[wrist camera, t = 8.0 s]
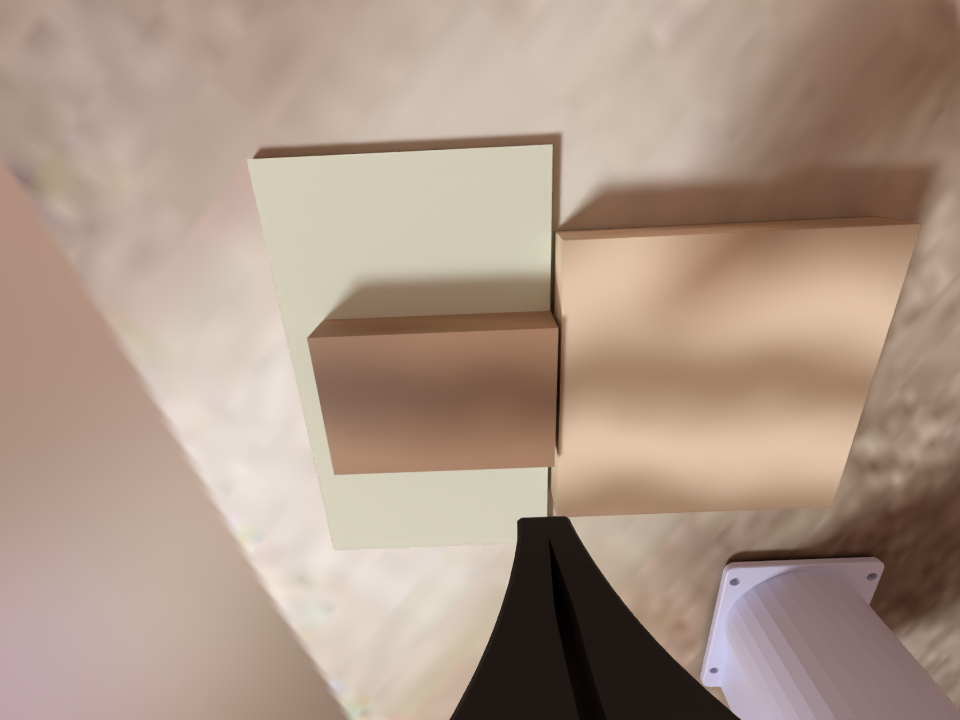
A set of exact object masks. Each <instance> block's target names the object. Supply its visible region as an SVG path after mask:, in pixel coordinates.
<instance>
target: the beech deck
mask: <svg viewBox="0 0 960 720" xmlns="http://www.w3.org/2000/svg"><path fill="white" fill-rule="evenodd" d="M921 226H922V224H919V223H913V222H907V221H901V220H895V219H889V218H883V217H877V216H874V217H853V218H831V219H810V220H789V221H767V222H746V223H725V224H703V225H682V226H661V227H639V228H618V229H597V230H575V231H555V263H554V319H555V322H556V324H557V326H558V362H557V398H556V434H555V467H551V483H550V488H551V493H552V498H553V502H554V507H555V511H556V516H566V517H583V516H608V515H633V514H658V513H684V512H709V511H734V510H760V509H785V508H810V507H832V504H833V501H834V498H835V495H836V492H837V489H838V486H839V482H840V479H841V476H842V473H843V470H844V467H845V464H846V461H847V457H848V454H849V451H850V448H851V445H852V442H853V439H854V436H855V432H856V429H857V426H858V423H859V420H860V417H861V414H862V410H863V407H864V404H865V401H866V398H867V395H868V392H869V389H870V385H871V382H872V379H873V376H874V373H875V370H876V367H877V364H878V360H879V357H880V354H881V351H882V348H883V345H884V342H885V338H886V335H887V332H888V329H889V326H890V323H891V320H892V317H893V313H894V310H895V307H896V304H897V301H898V298H899V295H900V292H901V288H902V285H903V282H904V279H905V276H906V273H907V270H908V267H909V263H910V260H911V257H912V254H913V251H914V248H915V245H916V241H917V238H918V235H919V232H920V229H921Z"/></svg>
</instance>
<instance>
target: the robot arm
mask: <svg viewBox="0 0 960 720" xmlns="http://www.w3.org/2000/svg"><path fill="white" fill-rule="evenodd" d="M883 570H884V564H883V563H882V562H881V561H880V560H879V559H878V558H876V557H856V558H830V559H804V560H778V561H751V562H732V563H729V564H727V565H726V566H725V568H724V570H723V574H722V579H721V584H720V588H719V593H718V597H717V602H716V606H715V611H714V616H713V620H712V625H711V629H710V634H709V638H708V643H707V648H706V652H705V657H704V661H703V666H702V671H701V675H700V678H701V680H702V683H703V684H704V685H705V686H709V687H715V686H720V687H721V689H722V691H723V693H724V695H725V698H726V700H727V702H728V704H729V706H730V709H731V711H732V712H731V711H730V710H729V709H728V708H727V707H726V706H724V705H723V704H722V703H721V702H720V701H719V700H718V699H716V698H715V697H714V696H713V695H712V694H711V693H709V692H708V691H707V690H706V689H705V688H704V687H703V686H702V685H701V684H700V683H699V682H698V681H697V680H696V679H694V678H693V677H692V676H691V675H690V674H689V673H688V672H687V671H686V670H685V669H684V668H683V667H682V666H681V665H680V664H679V663H678V662H676V661H675V660H674V659H673V658H672V657H671V656H670V655H669V653H668V652H667V651H666V650H665V649H664V648H663V647H662V646H661V645H660V644H659V643H658V642H657V641H656V640H655V639H654V638H653V636H652V635H651V634H650V633H649V632H648V631H647V630H646V629H645V628H644V626H643V625H642V624H641V623H640V622H639V621H638V619H637V618H636V617H635V616H634V615H633V614H632V612H631V611H630V610H629V609H628V607H627V606H626V605H625V604H624V602H623V601H622V600H621V598H620V597H619V596H618V595H617V593H616V592H615V591H614V589H613V588H612V587H611V585H610V584H609V583H608V581H607V580H606V578H605V577H604V575H603V574H602V572H601V571H600V570H599V568H598V567H597V565H596V564H595V562H594V561H593V559H592V558H591V556H590V555H589V553H588V551H587V550H586V548H585V547H584V545H583V543H582V542H581V540H580V538H579V537H578V535H577V533H576V531H575V529H574V527H573V526H572V524H571V522H570V519H568V518H567V517H566V516H554V517H523V518H520V519H519V520H518V521H517V546H516V552H515V558H514V562H513V567H512V571H511V576H510V580H509V584H508V587H507V590H506V594H505V597H504V600H503V603H502V607H501V610H500V613H499V616H498V618H497V621H496V624H495V627H494V629H493V632H492V634H491V637H490V639H489V642H488V644H487V646H486V649H485V651H484V653H483V656H482V658H481V660H480V662H479V665H478V667H477V669H476V671H475V673H474V675H473V677H472V679H471V681H470V683H469V685H468V687H467V689H466V691H465V692H464V694H463V696H462V698H461V700H460V702H459V704H458V706H457V708H456V709H455V711H454V713H453V715H452V716H451V718H450V720H960V710H959V709H958V708H957V707H956V705H955V704H954V703H953V702H952V701H951V700H950V698H949V697H948V696H947V695H946V694H945V693H944V691H943V690H942V689H941V688H940V687H939V686H938V684H937V683H936V682H935V681H934V680H933V679H932V678H931V676H930V675H929V674H928V673H927V672H926V671H925V669H924V668H923V667H922V666H921V665H920V664H919V662H918V661H917V660H916V659H915V658H914V657H913V655H912V654H911V653H910V652H909V651H908V650H907V649H906V647H905V646H904V645H903V644H902V643H901V642H900V640H899V639H898V638H897V637H896V636H895V635H894V633H893V632H892V631H891V630H890V629H889V628H888V626H887V625H886V624H885V623H884V622H883V621H882V620H881V618H880V617H879V616H878V615H877V614H876V613H875V611H874V610H873V609H872V608H871V607H870V606H869V605H870V602H871V600H872V597H873V595H874V592H875V590H876V587H877V585H878V582H879V580H880V577H881V575H882V572H883Z"/></svg>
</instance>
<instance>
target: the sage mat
mask: <svg viewBox="0 0 960 720" xmlns="http://www.w3.org/2000/svg"><path fill="white" fill-rule="evenodd" d="M552 153H553V144H549V145H529V146H509V147H488V148H468V149H447V150H427V151H407V152H386V153H366V154H346V155H325V156H305V157H285V158H264V159H247V163H248V168H249V172H250V177H251V181H252V186H253V190H254V195H255V199H256V204H257V208H258V213H259V217H260V222H261V226H262V231H263V235H264V239H265V244H266V248H267V253H268V257H269V262H270V266H271V271H272V275H273V280H274V284H275V289H276V293H277V298H278V302H279V307H280V311H281V316H282V320H283V325H284V329H285V333H286V338H287V342H288V347H289V351H290V356H291V360H292V365H293V369H294V374H295V378H296V383H297V387H298V392H299V396H300V401H301V405H302V410H303V414H304V419H305V423H306V427H307V432H308V436H309V441H310V445H311V450H312V454H313V459H314V463H315V468H316V472H317V477H318V481H319V486H320V490H321V495H322V499H323V504H324V508H325V512H326V517H327V521H328V526H329V530H330V535H331V539H332V544H333V548H334V550H358V549H384V548H409V547H435V546H461V545H486V544H512V543H517V521H518V520H519V519H520V518H523V517H547V485H548V467H537V468H510V469H483V470H455V471H428V472H401V473H374V474H347V475H334V471H333V466H332V461H331V456H330V451H329V446H328V441H327V436H326V431H325V426H324V421H323V416H322V411H321V406H320V401H319V396H318V391H317V386H316V381H315V376H314V371H313V366H312V361H311V356H310V351H309V346H308V341H307V337H308V336H309V335H310V334H311V333H312V332H313V331H314V330H315V329H316V327H317V326H318V325H319V324H320V323H321V322H322V321H323V320H332V319H357V318H382V317H407V316H432V315H456V314H481V313H506V312H531V311H550V286H551V219H552Z"/></svg>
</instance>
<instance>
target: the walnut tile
mask: <svg viewBox="0 0 960 720" xmlns="http://www.w3.org/2000/svg"><path fill="white" fill-rule="evenodd" d="M307 341H308V346H309V351H310V356H311V361H312V366H313V371H314V376H315V381H316V386H317V391H318V396H319V401H320V406H321V411H322V416H323V421H324V426H325V431H326V436H327V441H328V446H329V451H330V456H331V461H332V466H333V471H334V475H347V474H374V473H401V472H428V471H455V470H483V469H510V468H537V467H555V434H556V398H557V362H558V326H557V324H556V322H555V319H554V317H553V315H552V313H551V311H531V312H506V313H481V314H456V315H432V316H407V317H382V318H357V319H332V320H323V321H322V322H321V323H320V324H319V325H318V326H317V327H316V329H315V330H314V331H313V332H312V333H311V334H310V335H309V336H308V337H307Z"/></svg>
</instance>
